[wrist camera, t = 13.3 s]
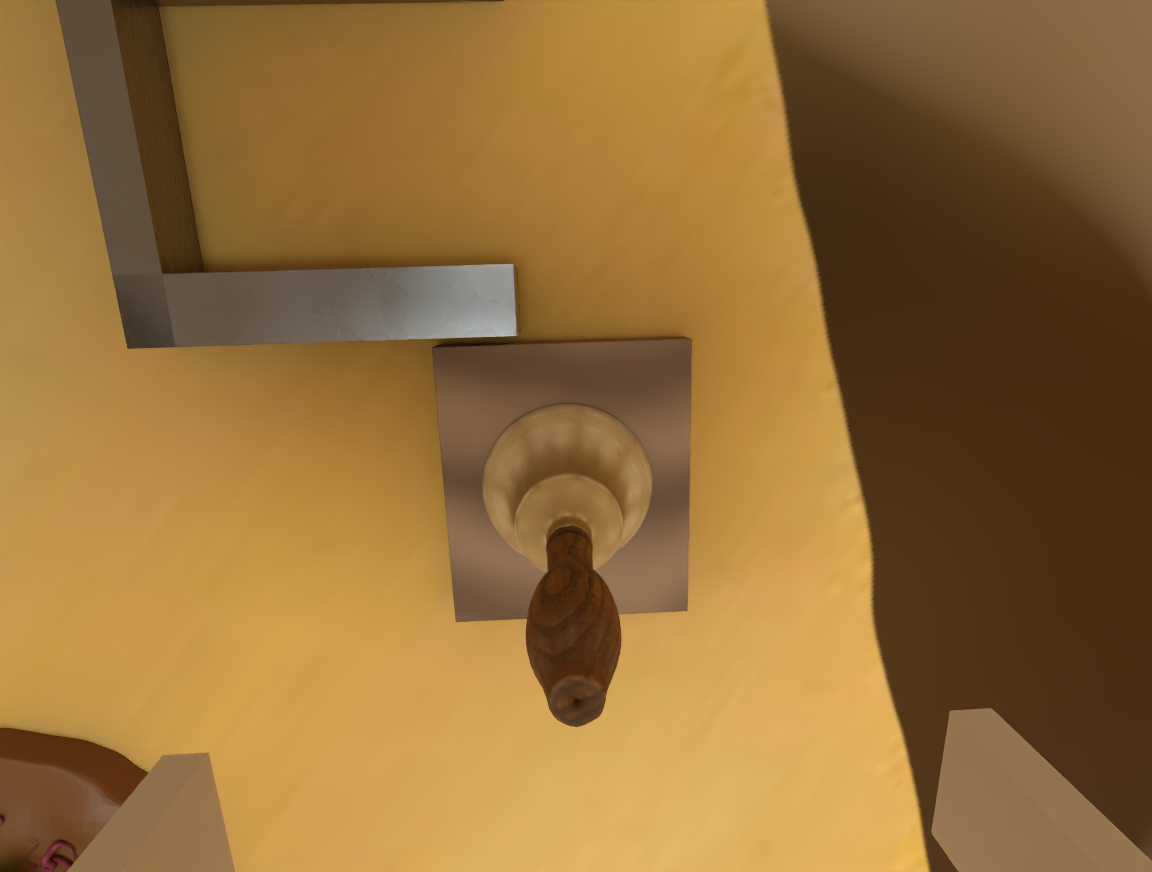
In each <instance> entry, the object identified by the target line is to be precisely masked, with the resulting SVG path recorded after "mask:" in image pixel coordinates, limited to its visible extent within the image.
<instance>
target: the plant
mask: <svg viewBox="0 0 1152 872" xmlns="http://www.w3.org/2000/svg"><path fill="white" fill-rule="evenodd" d="M147 774H148V772H146V771H144V770H143V769H141V768H139V767H138V766H136V765H135V764H133V763H132V762H131V761H130V760H129V759H127V758H126V757H125V756H123V755H121V754H119V753H118V752H115V751H113V750H111V749H108V748H105V747H103V746H100V745H97V744H94V743H92V742H88V741H84V740H80V739H74V738H67V737H60V736H53V735H47V734H41V733H36V732H30V731H25V730H18V729H11V728H2V729H0V872H67V871H68V870H69V868H70V867H71V866H72V865H73V864H74V862H75V861H76V860H77V859H78V858H79V856H80V855H81V854H82V853H83V851H84V850H85V849H86V848H87V847H88V845H89V844H90V843H91V842H92V841H93V839H94V838H95V837H96V836H97V835H98V833H99V832H100V831H101V830H102V829H103V827H104V826H105V825H106V824H107V823H108V821H109V820H110V819H111V818H112V816H113V815H114V814H115V813H116V812H117V810H118V809H119V808H120V807H121V806H122V804H123V803H124V802H125V801H126V800H127V798H128V797H129V796H130V795H131V794H132V792H133V791H134V790H135V789H136V787H137V786H138V785H139V784H140V783H141V781H142V780H143V779H144V778H145V777H146V775H147Z"/></svg>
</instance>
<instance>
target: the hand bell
mask: <svg viewBox="0 0 1152 872" xmlns="http://www.w3.org/2000/svg"><path fill="white" fill-rule="evenodd" d="M482 495H483V501H484V506H485V509H486V512H487V515H488V517H489V520H490V521H491V523H492V525H493V527H494V528H495V530H496V531H497V533H498V534H499V535H500V537H501V538H502V539H503V540H504V541H505V542H506V543H507V544H508V545H509V546H511V547H512V548H513V549H514V550H515V551H517V552H518V553H520V554H522V555H523V556H525V557H526V558H527V559H528V560H529V561H530V562H531V563H532V564H533V565H534V566H536V567H537V568H539V569H540V570H542V571H544V572H546V574H545V575H544V576H543V577H542V579H541V580H540V581H539V583H538V585H537V587H536V589H535V592H534V594H533V597H532V599H531V602H530V606H529V609H528V616H527V625H526V646H527V652H528V656H529V660H530V664H531V667H532V669H533V671H534V673H535V676H536V678H537V679H538V681H539V683H540V684H541V686H542V687H543V690H544V693H545V695H546V698H547V702H548V706H549V709H550V711H551V712H552V714H553V716H554V717H555V718H556V719H557V720H558V721H560V722H562V723H564V724H566V725H569V726H573V727H579V726H582V725H585V724H587V723H589V722H591V721H593V720H594V719H596V718H598V717H599V716H600V715H601V713H602V711H603V708H604V705H605V701H606V693H607V690H608V687H609V685H610V682H611V680H612V677H613V674H614V672H615V669H616V667H617V663H618V659H619V655H620V649H621V627H620V620H619V615H618V610H617V607H616V604H615V601H614V598H613V596H612V594H611V592H610V590H609V588H608V586H607V584H606V583H605V581H604V580H603V579H602V577H601V576H600V575H599V574H598V573H597V572H596V571H595V570H597V569H599V568H600V567H602V566H603V565H604V564H605V563H606V562H607V561H608V560H609V559H610V558H611V557H612V556H613V555H614V553H615V552H617V551H618V550H619V549H621V548H622V547H623V546H624V545H625V544H626V543H628V542H629V541H630V539H631V538H632V537H633V536H634V535H635V534H636V532H637V531H638V530H639V528H640V526H641V525H642V523H643V521H644V519H645V517H646V515H647V512H648V509H649V506H650V502H651V496H652V473H651V468H650V464H649V460H648V458H647V455H646V453H645V451H644V449H643V447H642V445H641V444H640V442H639V441H638V439H637V438H636V436H635V435H634V434H633V433H632V432H631V430H630V429H629V428H628V427H626V426H625V425H624V424H623V423H622V422H621V421H619V420H618V419H616V418H615V417H613V416H611V415H609V414H608V413H605V412H603V411H601V410H599V409H596V408H593V407H588V406H583V405H576V404H558V405H551V406H547V407H543V408H539V409H537V410H534V411H532V412H530V413H527V414H526V415H524V416H522V417H521V418H519V419H518V420H516V421H515V422H514V423H513V424H511V425H510V426H509V427H508V428H506V430H505V431H504V432H503V433H502V434H501V435H500V437H499V438H498V439H497V440H496V442H495V443H494V444H493V446H492V448H491V450H490V453H489V455H488V457H487V460H486V463H485V467H484V471H483V478H482Z"/></svg>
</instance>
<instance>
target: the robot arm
mask: <svg viewBox="0 0 1152 872" xmlns="http://www.w3.org/2000/svg"><path fill="white" fill-rule="evenodd" d="M931 833H932V834H933V836H934V837H935V839H936V840H937V841H938V843H939V844H940V846H941V847H942V849H943V850H944V851H945V853H946V854H947V856H948V857H949V859H950V860H951V862H952V863H953V864H954V866H955V867H956V869H957V870H958V872H1152V861H1151V860H1150V859H1149V858H1148V857H1147V856H1146V855H1145V854H1143V853H1142V852H1141V851H1140V850H1139V849H1138V848H1137V847H1136V846H1135V845H1134V844H1133V843H1132V842H1131V841H1130V840H1129V839H1128V838H1127V837H1126V836H1125V835H1124V834H1122V833H1121V832H1120V831H1119V830H1118V829H1117V828H1116V827H1115V826H1114V825H1113V824H1112V823H1111V822H1110V821H1109V820H1108V819H1107V818H1106V817H1105V816H1104V815H1103V814H1101V813H1100V812H1099V811H1098V810H1097V809H1096V808H1095V807H1094V806H1093V805H1092V804H1091V803H1090V802H1089V801H1088V800H1087V799H1086V798H1085V797H1084V796H1083V795H1082V794H1081V793H1080V792H1078V791H1077V790H1076V789H1075V788H1074V787H1073V786H1072V785H1071V784H1070V783H1069V782H1068V781H1067V780H1066V779H1065V778H1064V777H1063V776H1062V775H1061V774H1060V773H1058V772H1057V771H1056V770H1055V769H1054V768H1053V767H1052V766H1051V765H1050V764H1049V763H1048V762H1047V761H1046V760H1045V759H1044V758H1043V757H1042V756H1041V755H1039V753H1037V751H1035V750H1034V749H1033V748H1032V747H1031V746H1030V745H1029V744H1028V743H1027V742H1026V741H1025V740H1024V739H1023V738H1022V737H1021V736H1020V735H1019V734H1018V733H1017V732H1015V730H1013V729H1012V728H1011V727H1010V726H1009V725H1008V724H1007V723H1006V722H1005V721H1004V720H1003V719H1002V718H1001V717H1000V716H999V715H998V714H997V713H996V712H995V711H993V710H992V709H974V710H956V711H950V715H949V721H948V729H947V734H946V741H945V747H944V754H943V761H942V767H941V773H940V780H939V788H938V793H937V800H936V807H935V813H934V819H933V826H932V832H931ZM67 872H235V869H234V865H233V860H232V856H231V851H230V847H229V842H228V838H227V833H226V829H225V824H224V820H223V815H222V811H221V806H220V802H219V798H218V793H217V789H216V784H215V780H214V775H213V771H212V766H211V762H210V757H209V753H195V754H178V755H163V756H162V757H161V759H160V760H159V761H158V762H157V763H156V765H155V766H154V767H153V768H152V769H151V771H150V772H149V773H148V774H147V775H146V777H145V778H144V779H143V780H142V781H141V783H140V784H139V785H138V786H137V787H136V789H135V790H134V791H133V792H132V794H131V795H130V796H129V797H128V798H127V800H126V801H125V802H124V803H123V804H122V806H121V807H120V808H119V809H118V810H117V812H116V813H115V814H114V815H113V816H112V818H111V819H110V820H109V821H108V823H107V824H106V825H105V826H104V827H103V829H102V830H101V831H100V832H99V833H98V835H97V836H96V837H95V838H94V839H93V841H92V842H91V843H90V844H89V845H88V847H87V848H86V849H85V850H84V851H83V853H82V854H81V855H80V856H79V858H78V859H77V860H76V861H75V862H74V864H73V865H72V866H71V867H70V868H69V870H68V871H67Z"/></svg>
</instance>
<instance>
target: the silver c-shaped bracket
mask: <svg viewBox="0 0 1152 872" xmlns="http://www.w3.org/2000/svg"><path fill="white" fill-rule="evenodd" d="M448 1H503V0H56V4H57V9H58V13H59V18H60V23H61V28H62V33H63V38H64V42H65V47H66V52H67V57H68V62H69V67H70V71H71V76H72V81H73V86H74V91H75V96H76V101H77V105H78V110H79V115H80V120H81V125H82V130H83V134H84V139H85V144H86V149H87V154H88V159H89V164H90V168H91V173H92V178H93V183H94V188H95V193H96V197H97V202H98V207H99V212H100V217H101V222H102V226H103V231H104V236H105V241H106V246H107V251H108V256H109V260H110V265H111V270H112V275H113V280H114V285H115V289H116V294H117V299H118V304H119V309H120V314H121V318H122V323H123V328H124V333H125V338H126V343H127V348H128V349H132V348H162V347H192V346H223V345H253V344H284V343H314V342H345V341H375V340H405V339H436V338H466V337H497V336H517V335H518V334H519V333H520V312H519V293H518V274H517V267H516V266H515V265H514V264H490V265H456V266H421V267H387V268H352V269H318V270H284V271H249V272H215V273H204V272H203V266H202V260H201V255H200V249H199V243H198V237H197V231H196V225H195V220H194V214H193V208H192V202H191V196H190V190H189V185H188V179H187V173H186V167H185V161H184V155H183V150H182V144H181V138H180V132H179V126H178V120H177V115H176V109H175V103H174V97H173V91H172V85H171V80H170V74H169V68H168V62H167V56H166V50H165V45H164V39H163V33H162V27H161V21H160V15H159V10H158V6H183V5H249V4H315V3H381V2H448Z"/></svg>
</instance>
